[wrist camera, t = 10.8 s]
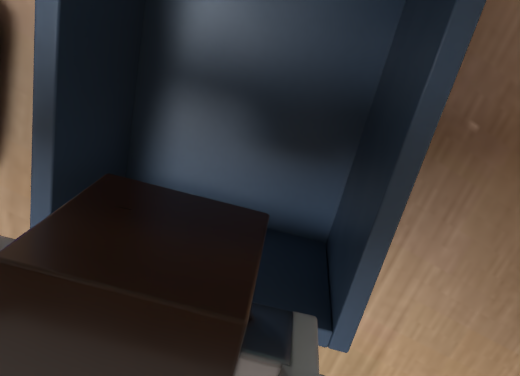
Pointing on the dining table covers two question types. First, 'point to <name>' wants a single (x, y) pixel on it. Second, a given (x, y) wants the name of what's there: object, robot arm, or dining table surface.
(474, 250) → the dining table surface
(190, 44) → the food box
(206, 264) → the block
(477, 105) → the dining table surface
